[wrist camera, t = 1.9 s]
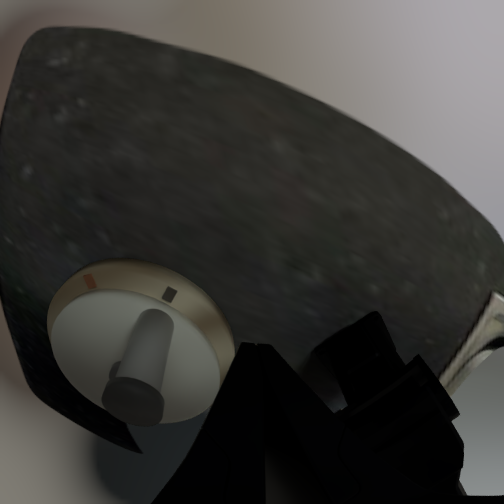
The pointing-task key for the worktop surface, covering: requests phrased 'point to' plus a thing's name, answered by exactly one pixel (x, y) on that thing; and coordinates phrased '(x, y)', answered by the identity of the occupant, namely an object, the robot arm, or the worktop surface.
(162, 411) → the dial
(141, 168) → the worktop surface
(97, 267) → the dial base
